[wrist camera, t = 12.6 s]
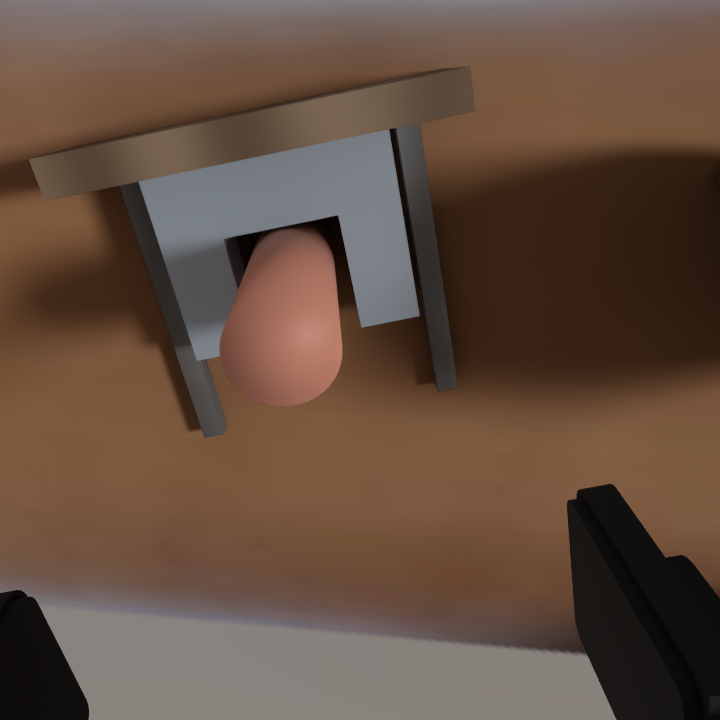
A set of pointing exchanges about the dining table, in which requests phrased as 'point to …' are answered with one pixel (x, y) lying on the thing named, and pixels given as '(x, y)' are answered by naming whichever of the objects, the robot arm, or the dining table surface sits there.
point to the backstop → (262, 137)
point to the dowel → (285, 319)
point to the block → (277, 209)
